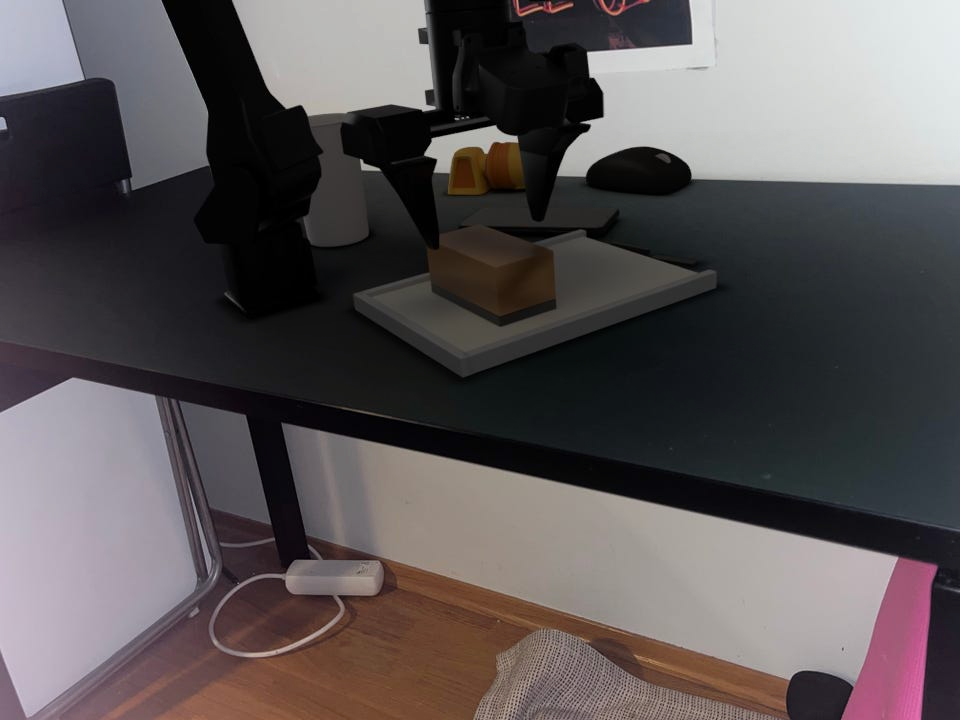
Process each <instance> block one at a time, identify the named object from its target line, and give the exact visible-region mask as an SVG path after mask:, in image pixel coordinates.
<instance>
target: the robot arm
mask: <svg viewBox="0 0 960 720" xmlns="http://www.w3.org/2000/svg"><path fill="white" fill-rule="evenodd" d="M528 1H529V2H530V3H532V4H539V3H540V4H541V3H552V2H565V1H567V2H568V0H528ZM160 2H161V5H162V7H163V9H164V12H165V14H166V16H167V19H168V21H169V23H170V27H171V28H172V30H173V33H174V35H175V37H176V38H175V39H176V40H177V42H178V44H179V47H180V49H181V52H182V54H183V56H184V59H185V61H186V64H187V66H188V68H189V71H190V72H191V75H192V78H193V80H194V82H195V85H196V87H197V89H198V91H199V95H200V97H201V99H202V101H203V103H204V106H205V109H206V113H207V122H206V123H207V124H206V141H205V142H206V143H205V156H206V159H207V163H208V167H209V169H210V174H211V177H212V180H213V184H214V186H213V187H212V188H211V190H210V192H209V194H208V195H207V196H206V198H205V200H204V201H203V203H202V205H201V206H200V208H199V209H198V211H197V212H196V214H195V215H194V217H193V223H194V225H195V227H196V228H197V231H198V232H199V234H200V237H201V238H202V240H203V242H204V243H205V244H207V245H208V244H209V245H218V247H219V250H220V256H221V260H222V264H223V269H224V273H225V278H226V283H227V287H228V290H227V291H226V292H224V298H225V300H226V301H227V302H228V303H230V304H231V305H232V306H233V307H235V308H236V309H237V310H238V311H240V312H241V313H242V314H243V315H244V316H245V317H249V318H253V317H257V316H259V315H263V314H266V313H270V312H274V311H277V310H281V309H285V308H288V307H291V306H295V305H299V304H302V303H306V302H310V301H313V300H317V299H320V298H321V291H320V290H319V289H317V288H316V287H315V286H316V285H317V283H318V280H317V279H318V278H317V273H316V268H315V262H314V256H313V251H312V244H310V240H309V239H308V237H306V236H304V234H303V229H302V228H303V227H302V224H301V223H300V222H299V221H297V220H299V219H300V218H302V217H304V216H306V215H308V214H309V209H310V202H311V196H312V194H313V193H314V192H315V190H316V189H317V186H318V183H319V179H320V178H321V176H322V173H321V165H320V160H319V158H318V155H321V154H323V150H322V148H321V147H320V146H319V145H318V144H317V142H316V140H315V138H314V136H313V134H312V131H311V128H310V124H309V120H308V116H309V115H308V113H307V112H306V109H305V108H304V106H303V105H302V104H298V105H295V106H291V107H289V108H287V107H285V106H284V105H283V104H282V103H281V102H280V100H278V99H277V98H276V97H275V96H274V95H273V94H272V92H271V91H270V89H269V88H268V86H267V84H266V82H265V79H264V76H263V75H262V72H261V71H262V70H261V68H260V66H259V64H258V62H257V59H256V57H255V54H254V51H253V49H252V46H251V44H250V41H249V39H248V36H247V34H246V31H245V29H244V25H243V24H242V21H241V19H240V16H239V14H238V11H237V9H236V5H235V4H234V1H233V0H160ZM423 6H424V12H425V13H424V16H425V24H426V26H425V27H418V28H417V35H418V43H419V45H428V52H429V61H430V71H431V80H432V88H431V89H425V90H424V97H425V105H426V106H429V107H435V109H434V108H433V109H429V110H423V109H421V108H415V107H410V106H404V105H398V104H392V103H391V104H384V105H379V106H374V107H373V106H372V107H368V108H362V109H357V110H350V111H347V112H345V113H346V115H345V117H344V119H343V122H342V125H341V128H340V134H341V140H342V147H343V154H345V155H348V156H352V157H355V158H358V159H360V161H362V163H363V164H364V165H367V166H370V167H373V168H377V169H379V170H380V172H381V173H382V174H383V176H384V177H385V179H386V181H387V182H388V183H389V184H390V186H391V187H392V189H393V190H394V191H395V192H396V194H397V196H398V197H399V199H400V201H401V203H402V204H403V206H404V207H405V210H406V211H407V213H408V214H409V217H410V218H411V220H412V222H413V223H414V225H415V227H416V228H417V230H418V232H419V234H420V236H421V238H422V239H423V241H424V243H425V246H426V245H427V246H428V248H430V249H432V250H438V249H439V234H440V227H439V219H438V214H437V206H436V198H435V193H434V186H433V176H434V173H435V170H436V167H437V164H438V158H435V157H431V156H427V155H425V154H426V152H427V151H428V149H429V147H430V146H431V144H432V142H433V139H436V138H441V137H446V136H451V135H455V134H460V133H465V132H470V131H476V130H481V129H486V128H490V127H496V129H497V130H498V131H499V132H500V133H502V134H505V135H507V136H512V137H516V138H517V143H518V145H519V150H520V157H521V164H522V170H523V177H524V184H525V189H524V190H525V196H526V201H527V205H528V208H529V210H530V213H531V217H532V219H533V220H534V221H537V222H542V221H543V220H544V218H545V215H546V212H547V208H549V205H550V201H551V198H552V194H553V190H554V188H555V184H556V180H557V176H558V173H559V171H560V167H561V165H562V162H563V160H564V157H565V155H566V152H567V150H568V149H569V147H570V146H571V145H572V144H573V143H575V141H576V140H577V139H578V138H579V136H581V135H583V134H586V133H589V131H590V130H591V127H592V124H591V123H585V122H590V121H594V120H595V121H596V120H599V119H604V117H605V92H604V91H603V89H602V88H601V86H600V84H599V83H598V81H597V79H596V78H595V77H590V76H591V75H590V74H591V73H590V67H589V66H590V65H589V57H588V49H586V48H585V47H583V46H582V45H580V44H579V43H577V42H568V43H563V44H557V45H556V44H555V45H553V46H552V47H551V48H550V49H549V51H546V50H545V51H540V52H534V51H532V50H530V48H529V46H528V42H527V32H526V28H525V27H524V21H523V20H512V8H511V0H423ZM427 246H426V247H427Z"/></svg>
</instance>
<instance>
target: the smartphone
mask: <svg viewBox="0 0 960 720" xmlns="http://www.w3.org/2000/svg"><path fill="white" fill-rule="evenodd" d="M619 216H620V209H619V208H616V207H548V208H547V212H546V215H545V218H544V220H543V221H542V222H537V221H534V220H533V219H532V217H531V213H530V210H529V207H498V206H497V207H495V206H494V207H491V206H490V207H487V206H485V207H481V208H479V209H478V210H477V211H475V212H474V213H472V214H471V215H469V217H467V218H465V219H464V220H462V222H460V223H459V224H458V226H457V228H458V229H457V230H459V229H462V228H466V227H470V226H474V225H478V224H480V225H483V226H486V227H489V228H491V229H494V230H497V231H500V232H503V233H505V234H537V235H538V234H542V235H543V234H544V235H549V234H550V235H552V236H554V235H555V236H559V235H563V234H566V233H570V232H574V231H577V230H585V231H586V236H602V235H604V234H605V233H606V231H608V229H609V228H610V227H611V226H612V224H613V223H614V222H615V221H616V220H617V219H618V217H619Z"/></svg>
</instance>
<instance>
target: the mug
mask: <svg viewBox="0 0 960 720" xmlns="http://www.w3.org/2000/svg"><path fill="white" fill-rule="evenodd" d="M346 113H347V112H333V113H331V112H330V113H321V114H320V113H319V114H312V115H308V120H309V124H310V128H311V131H312V134H313V136H314V138H315V140H316V142H317V144H318V145H319V146H320V147H321V148H322V150H323V154H321V155H318V158H319V160H320V165H321V173H322V176H321V178H320V179H319V183H318V186H317V189H316V190H315V192H314V193H313V194H312V196H311V202H310V209H309V214H308V215H306V216H304V217H303V223H304V227H305V228H304V229H305V232H306V236H307V237H306V238H307V239H309V240H310V245H311V246H314V247H319V248H335V247H336V248H337V247H343V246H348V245H352V244H355V243H356V244H357V243H359V242H362V241H363V240H365V239H367V238H368V237H369V234H370V230H369V220H368V211H367V202H366V195H365V187H364V186H365V185H364V179H363V171H362V163H361V159H358V158H355V157H352V156H348V155H345V154H343V147H342V140H341V134H340V128H341V125H342V122H343V119H344V117H345V115H346Z"/></svg>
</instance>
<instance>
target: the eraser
mask: <svg viewBox="0 0 960 720" xmlns="http://www.w3.org/2000/svg"><path fill="white" fill-rule="evenodd" d="M534 243H535V242H530V241H528V240H525V239H522V238H519V237H517V236H513V235H510V234H509V233H503V232H500V231H497V230H494V229H491V228H489V227H486V226H483V225H480V224H478V225H474V226H470V227H466V228H462V229H455V230H452V231H448V232H444V233H439V249H438V250H432V249H430V248H428V246H427V245H426V244H425V246H426V254H427V263H428V271H429V272H430V280H431V288H432V292H433V293H435V294H437V295H439V296H441V297H443V298H445V299H447V300H449V301H451V302H453V303H455V304H457V305H459V306H461V307H462V308H464V309H466V310H468V311H470V312H472V313H474V314H476V315H478V316H480V317H482V318H484V319H486V320H488V321H490V322H492V323H494V324H496V325H498V326H500V327H502V326H505V325H508V324H511V323H514V322H517V321H520V320H523V319H526V318H529V317H532V316H535V315H538V314H541V313H544V312H547V311H550V310H553V309H556V299H555V298H556V290H555V271H554V253H553V250H550V249H548V248H545V247H542V246H539V245H536V244H534Z"/></svg>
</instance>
